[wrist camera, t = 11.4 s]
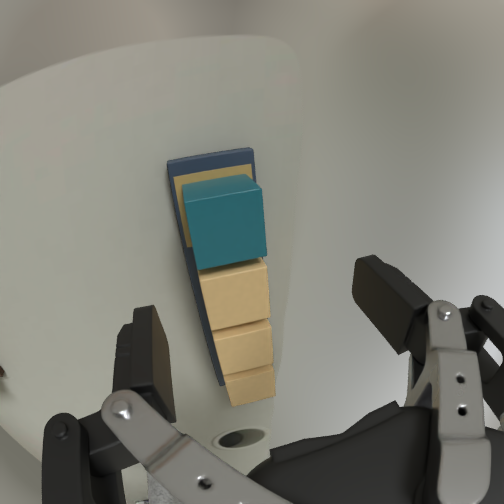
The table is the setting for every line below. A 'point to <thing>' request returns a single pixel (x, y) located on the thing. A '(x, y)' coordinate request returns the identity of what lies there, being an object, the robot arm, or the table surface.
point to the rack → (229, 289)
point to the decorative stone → (159, 493)
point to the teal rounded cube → (225, 220)
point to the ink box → (143, 502)
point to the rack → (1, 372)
